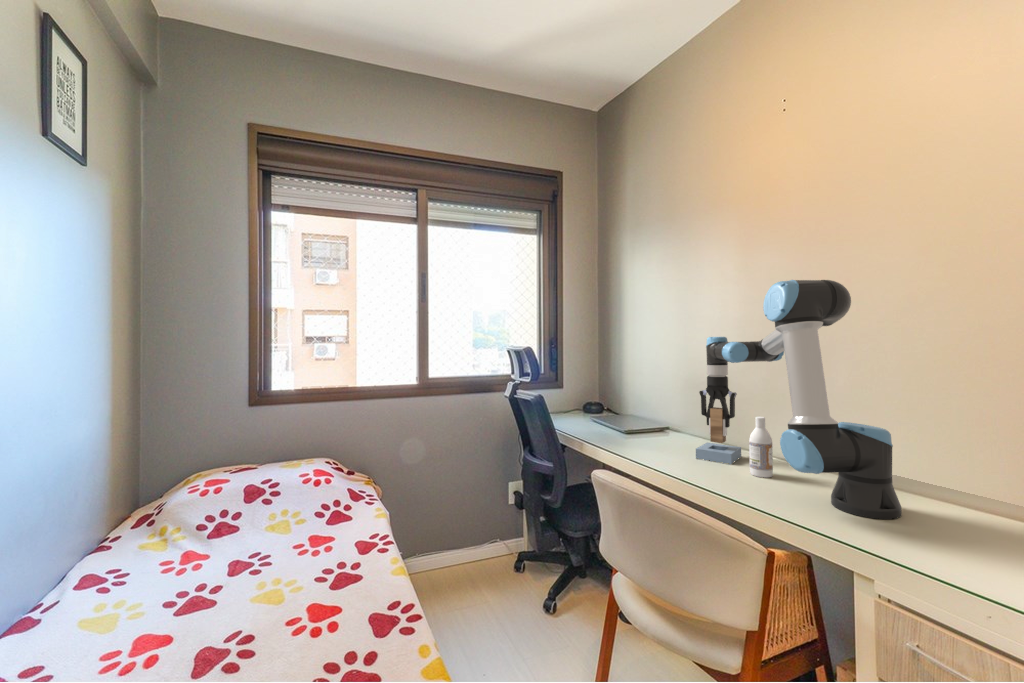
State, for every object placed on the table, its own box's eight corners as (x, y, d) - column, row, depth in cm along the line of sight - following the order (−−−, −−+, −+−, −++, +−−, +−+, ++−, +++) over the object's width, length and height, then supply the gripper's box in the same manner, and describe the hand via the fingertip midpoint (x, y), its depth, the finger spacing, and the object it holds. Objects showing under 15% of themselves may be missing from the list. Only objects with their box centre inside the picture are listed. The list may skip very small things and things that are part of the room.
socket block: (731, 464, 164) (731, 454, 164) (695, 458, 173) (695, 448, 173) (741, 457, 174) (741, 447, 174) (707, 452, 183) (707, 442, 183)
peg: (722, 443, 171) (721, 409, 170) (710, 441, 174) (710, 408, 173) (725, 441, 174) (725, 408, 174) (714, 439, 177) (713, 407, 177)
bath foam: (769, 479, 147) (768, 419, 147) (746, 475, 152) (745, 417, 152) (775, 474, 152) (774, 417, 152) (753, 470, 157) (752, 414, 157)
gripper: (744, 375, 170) (745, 435, 171) (698, 374, 182) (698, 430, 182) (738, 377, 165) (739, 439, 165) (691, 375, 177) (692, 433, 177)
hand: (718, 434), depth 174 cm, fingers closed on peg, 4 cm apart
